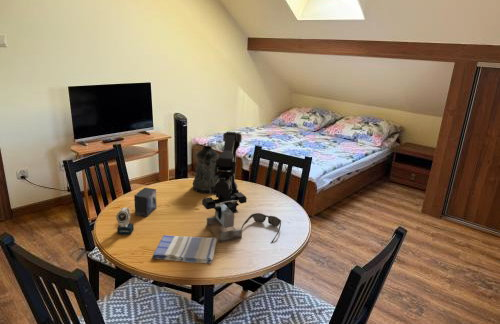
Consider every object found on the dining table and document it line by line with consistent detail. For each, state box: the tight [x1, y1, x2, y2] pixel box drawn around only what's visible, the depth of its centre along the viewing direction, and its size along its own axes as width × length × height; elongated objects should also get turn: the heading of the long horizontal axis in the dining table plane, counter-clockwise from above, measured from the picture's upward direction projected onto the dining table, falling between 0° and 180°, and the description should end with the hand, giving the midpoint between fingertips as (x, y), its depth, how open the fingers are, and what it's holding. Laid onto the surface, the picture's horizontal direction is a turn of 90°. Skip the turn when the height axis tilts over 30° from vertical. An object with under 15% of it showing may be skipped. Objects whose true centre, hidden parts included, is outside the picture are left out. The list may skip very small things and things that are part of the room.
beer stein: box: [192, 145, 220, 195], centre depth 194 cm, size 16×19×25 cm
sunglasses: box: [240, 212, 282, 245], centre depth 155 cm, size 16×17×5 cm
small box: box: [133, 187, 157, 218], centre depth 166 cm, size 11×6×10 cm, turn 168°
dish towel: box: [151, 234, 218, 264], centre depth 138 cm, size 17×24×3 cm
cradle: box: [206, 215, 243, 244], centre depth 153 cm, size 10×16×4 cm, turn 28°
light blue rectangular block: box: [214, 203, 235, 228], centre depth 151 cm, size 4×11×6 cm, turn 28°
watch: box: [115, 207, 135, 236], centre depth 147 cm, size 6×8×11 cm
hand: (224, 218), depth 151 cm, fingers closed on light blue rectangular block, 4 cm apart
